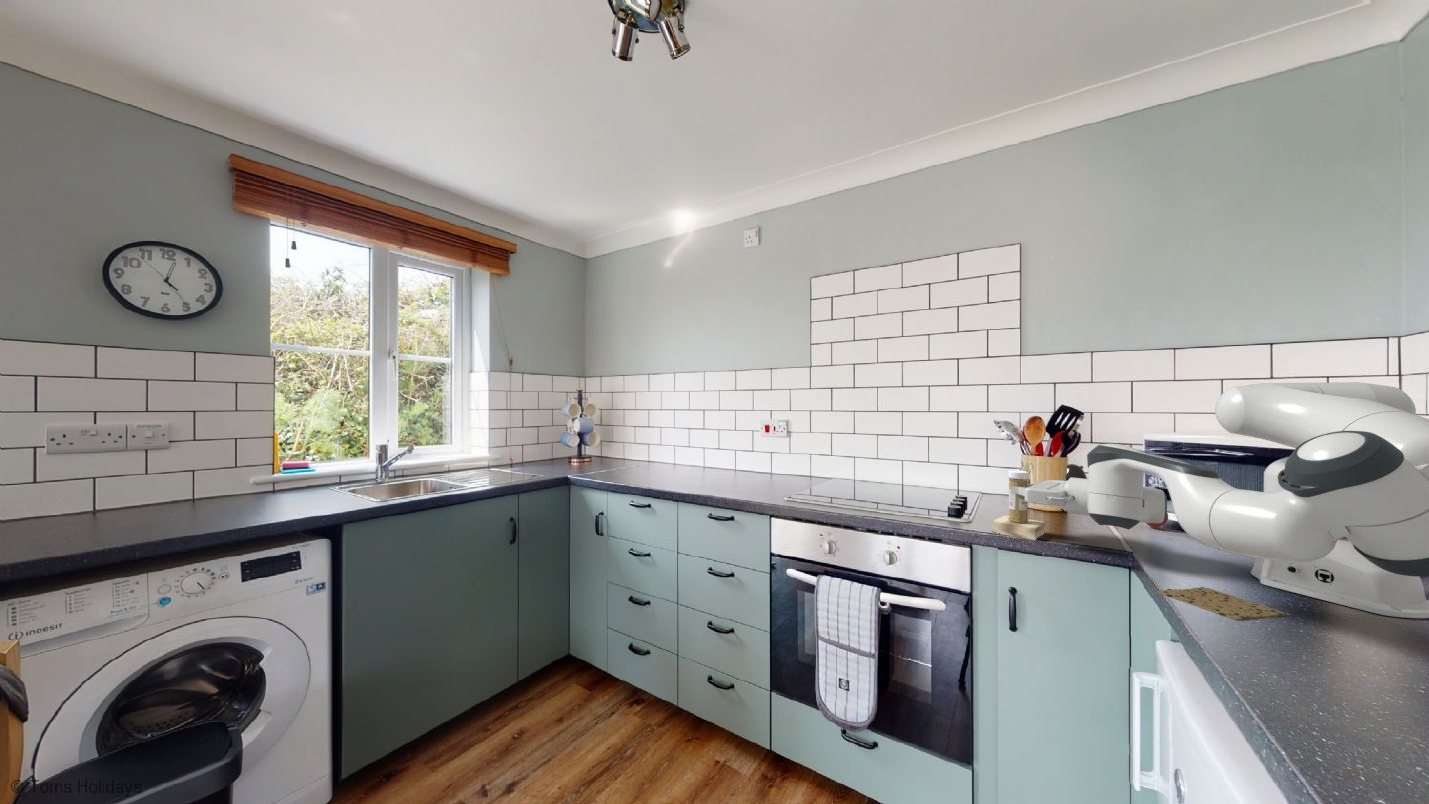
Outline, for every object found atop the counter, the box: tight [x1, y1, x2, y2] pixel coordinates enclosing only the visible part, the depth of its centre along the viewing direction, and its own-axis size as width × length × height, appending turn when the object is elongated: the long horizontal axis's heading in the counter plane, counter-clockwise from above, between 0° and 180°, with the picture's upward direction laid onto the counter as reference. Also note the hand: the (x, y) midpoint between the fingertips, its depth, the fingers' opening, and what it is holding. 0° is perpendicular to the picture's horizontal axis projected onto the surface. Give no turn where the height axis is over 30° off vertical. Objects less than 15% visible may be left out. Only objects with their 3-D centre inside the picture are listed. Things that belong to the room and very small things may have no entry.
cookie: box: [1157, 586, 1291, 621], centre depth 85 cm, size 12×12×1 cm
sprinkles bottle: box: [1007, 470, 1030, 523], centre depth 130 cm, size 5×5×14 cm
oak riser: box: [991, 514, 1047, 541], centre depth 130 cm, size 10×10×3 cm
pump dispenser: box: [1062, 463, 1088, 513], centre depth 157 cm, size 10×10×15 cm
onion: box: [1145, 512, 1169, 530], centre depth 136 cm, size 6×6×8 cm
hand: (1014, 488), depth 130 cm, fingers open, 4 cm apart
